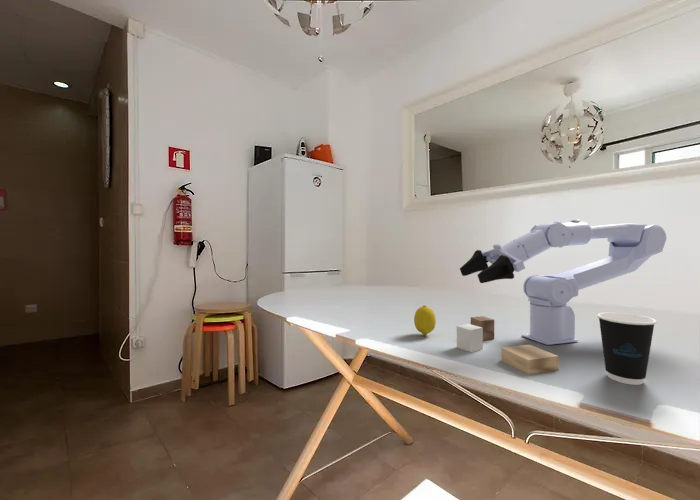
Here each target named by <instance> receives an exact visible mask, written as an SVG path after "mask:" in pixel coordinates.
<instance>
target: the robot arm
mask: <svg viewBox="0 0 700 500" xmlns="http://www.w3.org/2000/svg"><path fill="white" fill-rule="evenodd" d="M592 239H593V240H594V239H596V240H597V239H606V240H607V242H608V243H609V248H608V257H605V258H602V259H600V260H599V259H598V260H596V261H593V262H590V263H587V264H584V265H580V266H578V267H575V268H573V269H568V270H566V271H563V272H559V273H549V274H548V273H547V274H543V275H537V274H532V275H530V276H528V277H527V278H526V279H525V280H524V282H523V285H522V286H523V287H522V288H523V293H524V294H525V296H526V297H527V298H528V302H529V333H528V332H527V333H521V337H523V338H527V339H530V340H532V341H534V342H535V341H536V342H537V343H541V344H544V345H546V346H550V345H558V344H569V343H577V342H579V339H577V338H576V336H575V335H576V333H575V332H576V331H575V329H576V322H575V321H576V315H575V311H574V309H573V308H572V307H571V306H570V305H569V304H567V303H569V302H570V300H572V298H576V297H578V296H579V291H580V290H582V289H583V290H584V289H586V288H589V287H591V286H594V285H595V286H596V285H597V284H600V283H603V282H606V281H610V280H612V279H615V278H617V277H618V278H619V277H621V276H624V275H627V274H630V273H633V272H635V271H636V270H638V269H640V267H641V266H643V265H644V263H646V262H647V261H648V260H649V259H650V258H651V257H652V256H655V255H658V254H660V253H663V250H664V249H665V244H666V241H667V233H666V231H665V229H664V228H663V227H662V226H661V225H658V224H650V225H648V224H644V223H614V224H604V225H595V226H594V225H591V226H590V224H589V223H588V222H584V221H581V220H580V219H572V220H570V222H562V221H554V222H553V223H545V224H544V223H543V224H539V225H536V224H535V225H534V226H532V227H531V229H530V230H529V232H527V233H524V234H523V235H521V236H519V237H517V238H515V239H513V240H511V241H509V242H507V243H505V244H503V245H501V244H498V243H495V244H493V246H492V247H493V248H492V249H490V250H487V251H486V250H485V251H484V250H483V251H482V250H480V249H476V250H475V251H474V252H473V255H472V256H471V257H470V258H469V259H468V260H467V262H465V263H464V264H463V265H462V266H461V267H460V268H459V270H460V273H461V276H463V277H466V276H469V275H472V274H474V273H477V272H479V273H478V274H477V278H478V281H479V283H480V284H484V283H485V284H486V283H490V282H493V281H499V280H507V279H508V280H509V279H510V280H513V279H515V272H516V273H519V272H522V270H525V269H526V266H525V264H524V262H527V261H528V260H530V259H531V258H534V257H536V256H537V255H540V254H541V253H543V252H545V251H547V250H549V249H550V248H563V247H566V246H583V245H586V244H588V243H589V242H590V241H591V240H592ZM488 263H490V265H488Z"/></svg>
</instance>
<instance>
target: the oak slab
mask: <svg viewBox="0 0 700 500" xmlns="http://www.w3.org/2000/svg"><path fill="white" fill-rule="evenodd" d="M500 356H501V359H500V361H502V362H503V363H506V364H508V365H509V366H511V367H514V368H515V369H517V370H519V371H521V372H523V373H525V374H527V375H532V374H537V373H538V374H539V373H546V372H553V371H554V372H555V371H558V370H559V366H560V365H559V361H560V359H559V357H560V356H559V355H557V354H554V353H553V352H549V351H546V350H544V349H542V348H540V347H537V346H534V345H532V344H524V345H515V346H505V347H504V346H503V347H501V355H500Z"/></svg>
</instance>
